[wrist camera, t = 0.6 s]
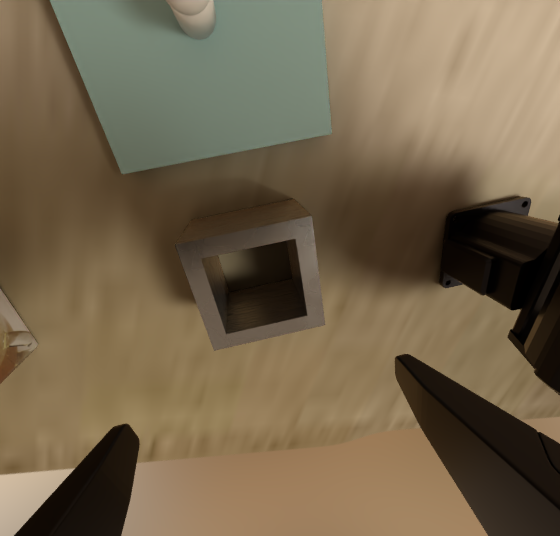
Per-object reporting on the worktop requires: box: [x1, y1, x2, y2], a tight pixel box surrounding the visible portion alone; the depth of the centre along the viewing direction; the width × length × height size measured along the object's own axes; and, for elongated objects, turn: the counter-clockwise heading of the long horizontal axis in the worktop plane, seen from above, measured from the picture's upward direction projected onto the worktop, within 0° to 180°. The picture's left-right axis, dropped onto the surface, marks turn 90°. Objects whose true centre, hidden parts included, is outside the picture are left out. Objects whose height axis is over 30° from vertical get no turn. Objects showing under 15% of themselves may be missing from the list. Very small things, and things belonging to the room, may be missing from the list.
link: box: [175, 199, 325, 351], centre depth 17 cm, size 7×7×5 cm
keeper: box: [50, 0, 332, 174], centre depth 11 cm, size 12×12×6 cm
